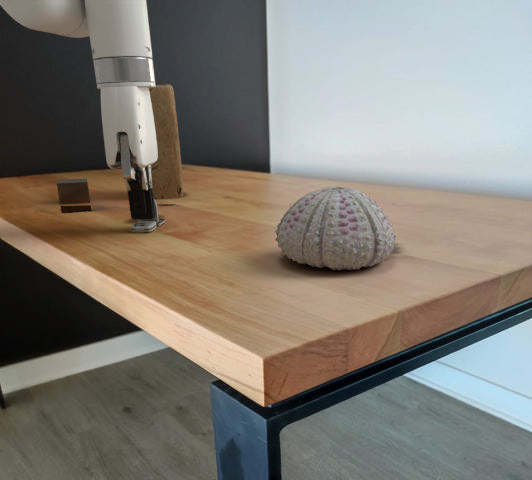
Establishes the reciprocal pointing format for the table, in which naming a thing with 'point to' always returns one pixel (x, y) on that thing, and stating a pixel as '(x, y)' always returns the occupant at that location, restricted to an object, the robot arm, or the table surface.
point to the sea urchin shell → (336, 230)
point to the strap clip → (148, 222)
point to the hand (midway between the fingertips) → (143, 218)
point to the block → (166, 145)
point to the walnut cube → (73, 195)
